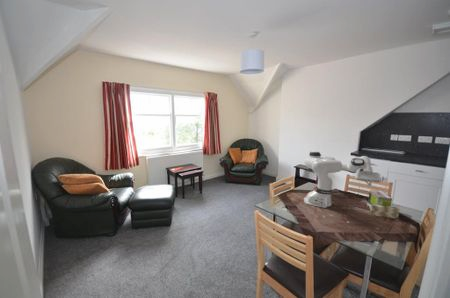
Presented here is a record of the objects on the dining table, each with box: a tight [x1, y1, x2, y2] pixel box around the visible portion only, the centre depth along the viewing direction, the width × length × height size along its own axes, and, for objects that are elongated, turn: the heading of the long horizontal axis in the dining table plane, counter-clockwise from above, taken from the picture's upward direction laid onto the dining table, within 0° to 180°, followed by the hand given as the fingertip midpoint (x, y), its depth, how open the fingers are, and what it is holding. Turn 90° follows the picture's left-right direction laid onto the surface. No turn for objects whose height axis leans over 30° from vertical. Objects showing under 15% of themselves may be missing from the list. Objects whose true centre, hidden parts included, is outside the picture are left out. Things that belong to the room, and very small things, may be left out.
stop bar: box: [369, 204, 401, 219], centre depth 159 cm, size 18×3×8 cm, turn 75°
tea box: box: [366, 189, 393, 209], centre depth 167 cm, size 15×10×15 cm
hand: (369, 185), depth 188 cm, fingers closed
